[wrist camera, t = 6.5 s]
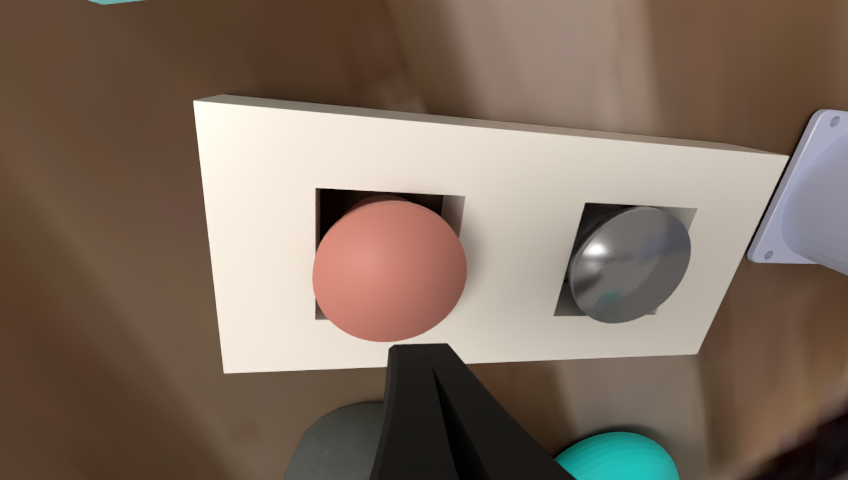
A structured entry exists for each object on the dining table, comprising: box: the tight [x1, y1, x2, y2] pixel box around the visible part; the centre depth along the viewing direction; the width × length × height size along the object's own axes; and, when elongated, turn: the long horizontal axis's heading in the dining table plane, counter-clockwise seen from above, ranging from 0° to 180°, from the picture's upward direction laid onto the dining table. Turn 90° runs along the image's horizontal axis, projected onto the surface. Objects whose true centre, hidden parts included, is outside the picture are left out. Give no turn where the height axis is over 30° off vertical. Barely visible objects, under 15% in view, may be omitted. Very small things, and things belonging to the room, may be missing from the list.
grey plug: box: [565, 203, 691, 324], centre depth 17 cm, size 5×5×3 cm
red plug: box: [312, 195, 467, 342], centre depth 15 cm, size 5×5×3 cm
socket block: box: [193, 94, 789, 373], centre depth 17 cm, size 22×10×3 cm, turn 83°
